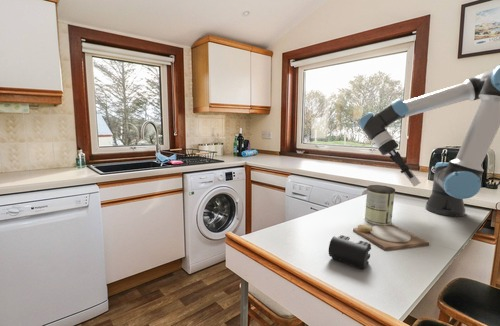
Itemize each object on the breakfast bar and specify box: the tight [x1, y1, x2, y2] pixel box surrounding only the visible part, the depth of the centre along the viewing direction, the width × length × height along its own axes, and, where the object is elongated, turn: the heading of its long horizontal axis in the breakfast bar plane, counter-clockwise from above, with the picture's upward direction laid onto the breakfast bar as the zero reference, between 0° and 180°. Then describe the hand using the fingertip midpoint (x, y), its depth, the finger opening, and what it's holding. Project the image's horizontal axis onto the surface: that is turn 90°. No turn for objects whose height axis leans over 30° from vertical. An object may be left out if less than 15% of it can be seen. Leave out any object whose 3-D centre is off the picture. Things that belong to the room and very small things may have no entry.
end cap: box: [328, 234, 372, 270], centre depth 78 cm, size 10×7×7 cm
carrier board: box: [352, 224, 430, 251], centre depth 96 cm, size 18×16×2 cm
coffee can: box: [364, 184, 396, 226], centre depth 112 cm, size 10×10×14 cm
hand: (417, 184), depth 113 cm, fingers open, 13 cm apart
